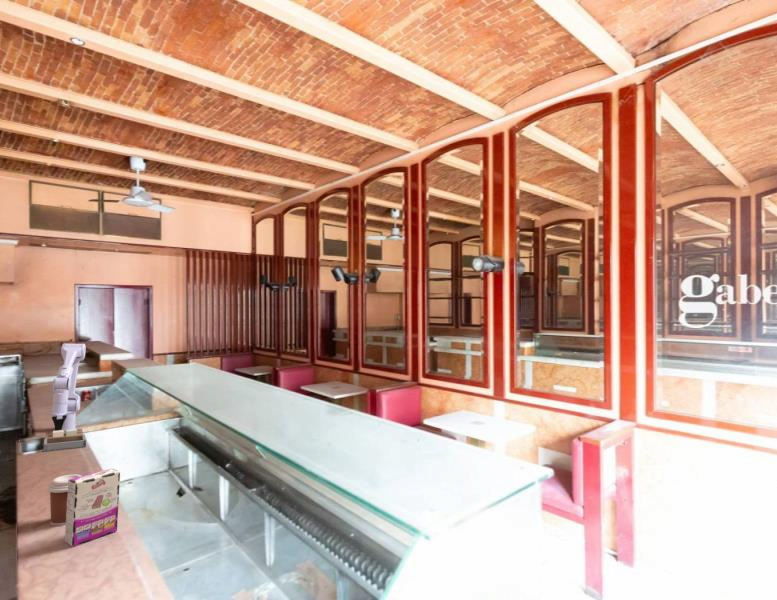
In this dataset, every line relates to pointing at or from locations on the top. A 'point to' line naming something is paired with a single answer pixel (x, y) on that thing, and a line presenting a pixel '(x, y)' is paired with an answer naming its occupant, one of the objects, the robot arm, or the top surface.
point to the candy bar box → (92, 506)
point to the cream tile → (58, 433)
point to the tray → (64, 445)
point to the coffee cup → (59, 499)
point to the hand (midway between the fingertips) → (58, 431)
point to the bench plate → (63, 437)
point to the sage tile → (71, 432)
